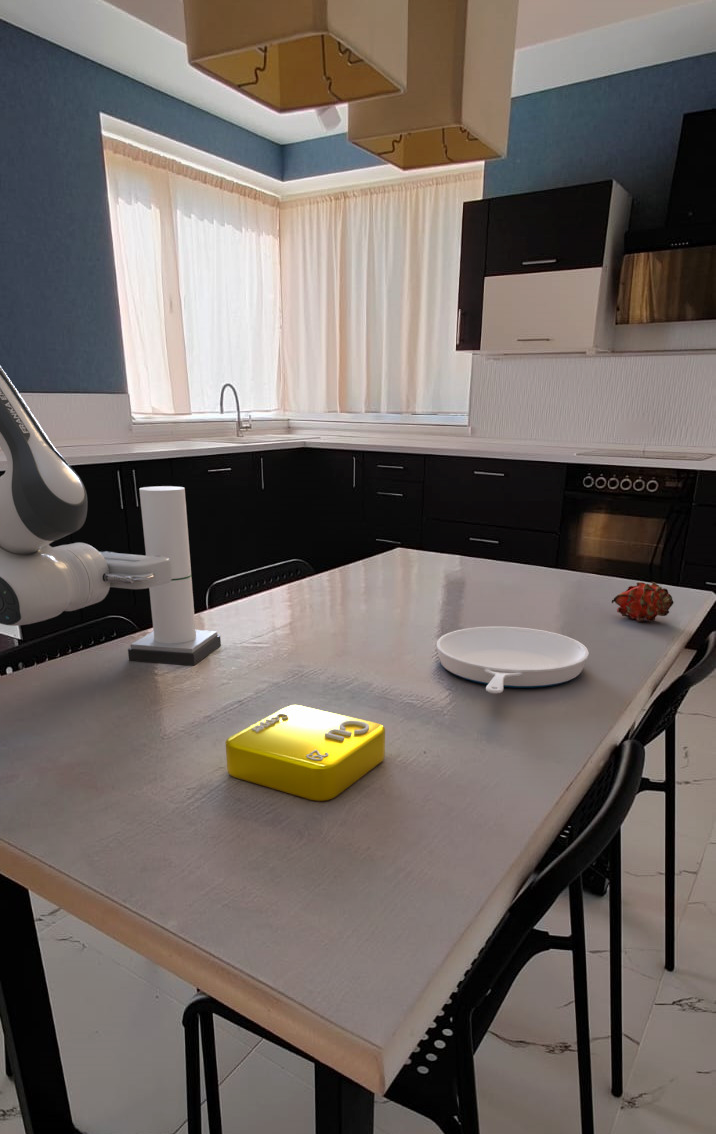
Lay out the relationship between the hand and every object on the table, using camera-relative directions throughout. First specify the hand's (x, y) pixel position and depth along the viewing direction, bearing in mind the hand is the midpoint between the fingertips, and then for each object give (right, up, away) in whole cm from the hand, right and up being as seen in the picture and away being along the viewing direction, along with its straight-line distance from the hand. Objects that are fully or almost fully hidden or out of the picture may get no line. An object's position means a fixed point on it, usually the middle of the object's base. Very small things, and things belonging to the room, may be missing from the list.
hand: (136, 559), depth 121 cm
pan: (+59, -19, +3) cm, 62 cm away
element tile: (+29, -32, -27) cm, 51 cm away
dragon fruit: (+93, -4, +38) cm, 101 cm away
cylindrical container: (+3, -11, +13) cm, 17 cm away
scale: (+3, -13, +14) cm, 20 cm away
